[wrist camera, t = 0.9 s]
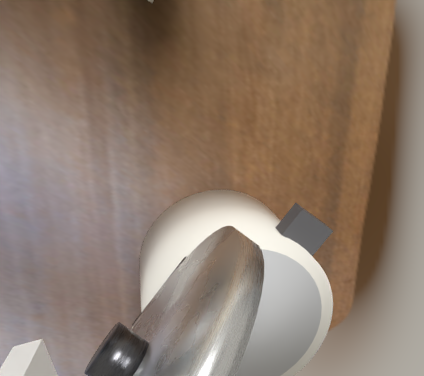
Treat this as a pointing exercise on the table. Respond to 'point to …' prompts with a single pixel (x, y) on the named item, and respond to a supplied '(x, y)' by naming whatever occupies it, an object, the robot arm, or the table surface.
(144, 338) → the cooker lid
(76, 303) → the table surface
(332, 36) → the table surface
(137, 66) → the table surface
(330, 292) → the cooker pot
